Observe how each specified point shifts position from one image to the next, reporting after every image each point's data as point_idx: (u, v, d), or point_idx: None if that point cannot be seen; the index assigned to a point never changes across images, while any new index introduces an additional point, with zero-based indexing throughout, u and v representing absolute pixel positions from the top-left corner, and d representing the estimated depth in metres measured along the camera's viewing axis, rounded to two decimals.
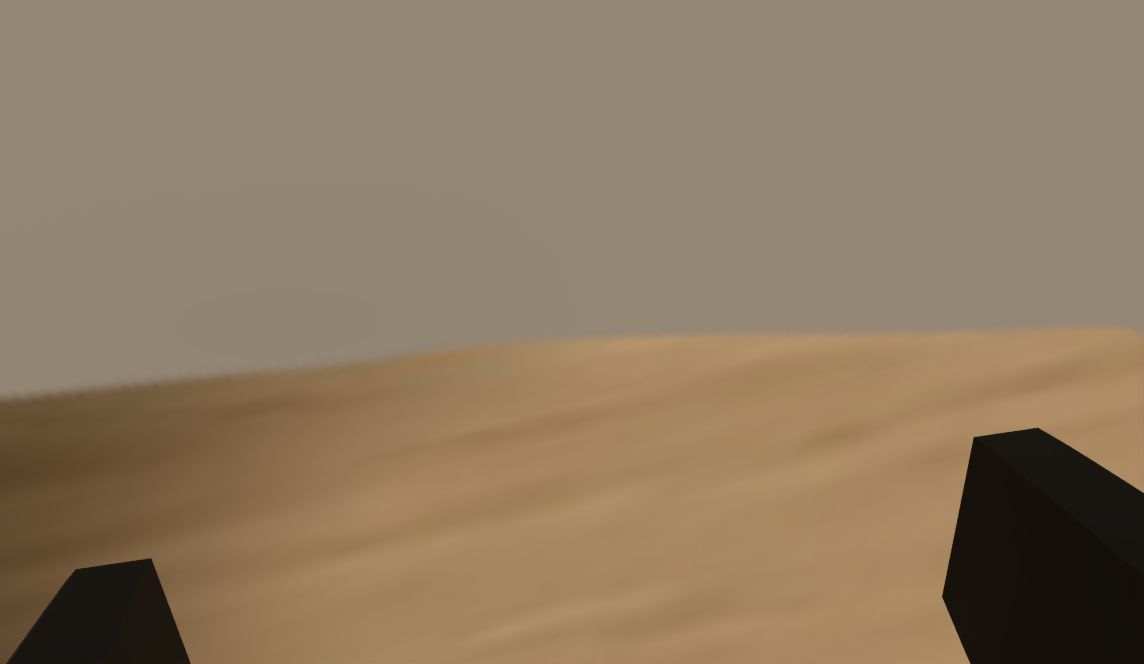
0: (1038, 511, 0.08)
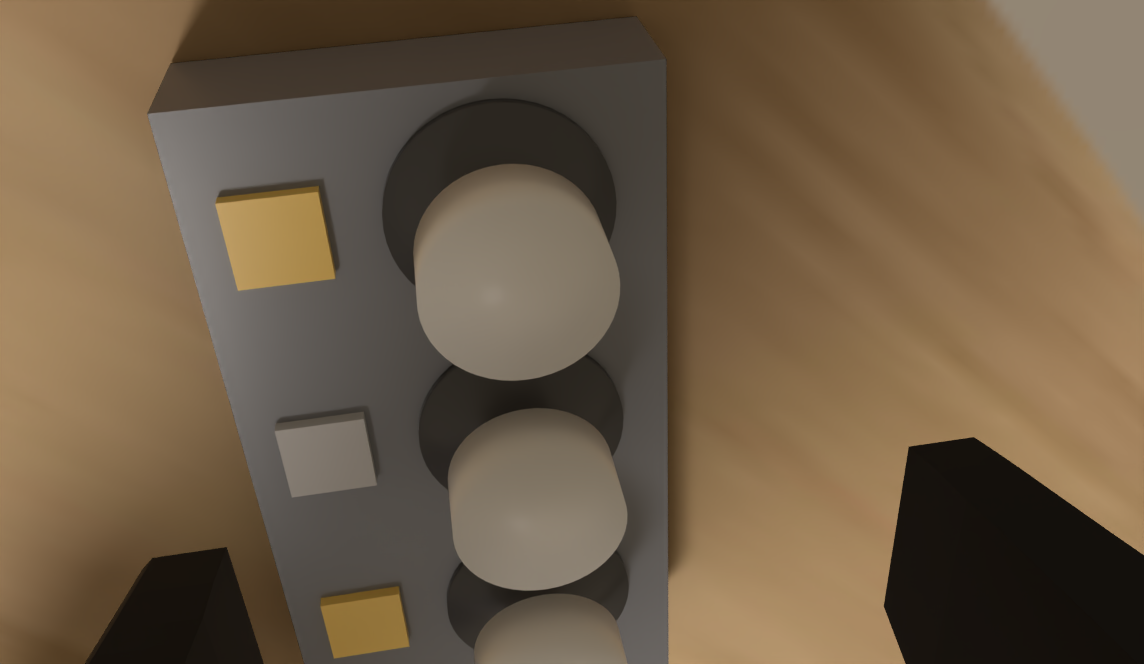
0: (966, 522, 0.08)
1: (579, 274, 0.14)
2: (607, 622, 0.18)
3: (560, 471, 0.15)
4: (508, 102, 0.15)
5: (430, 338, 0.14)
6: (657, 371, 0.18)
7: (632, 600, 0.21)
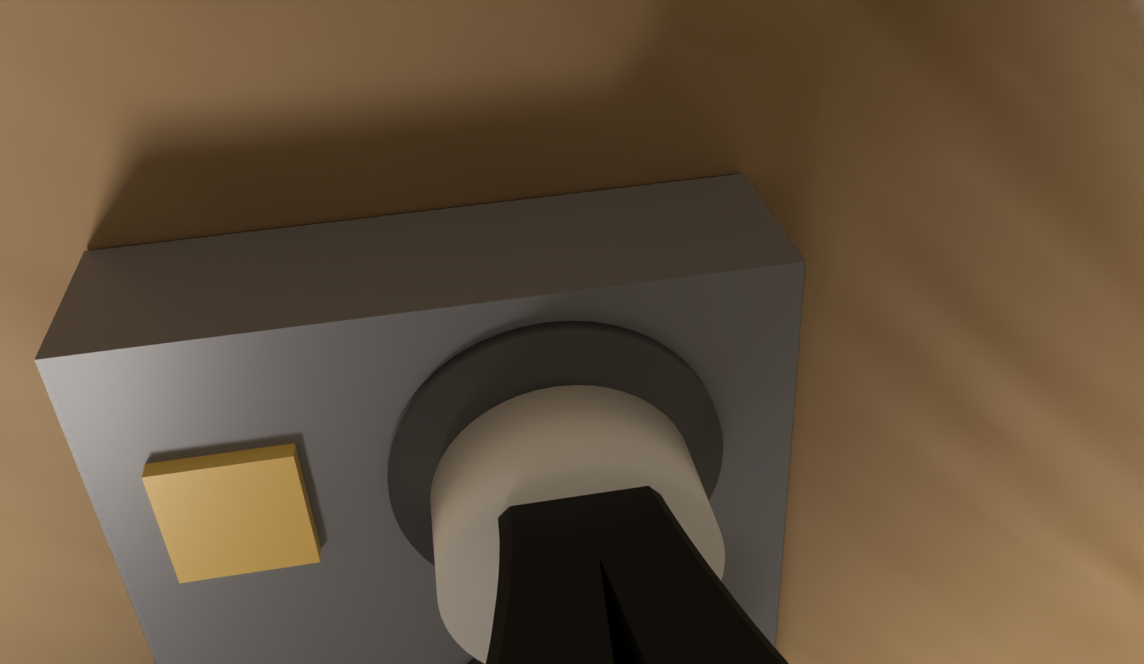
0: (602, 579, 0.08)
1: None
2: None
3: None
4: (574, 330, 0.10)
5: (455, 636, 0.10)
6: None
7: None
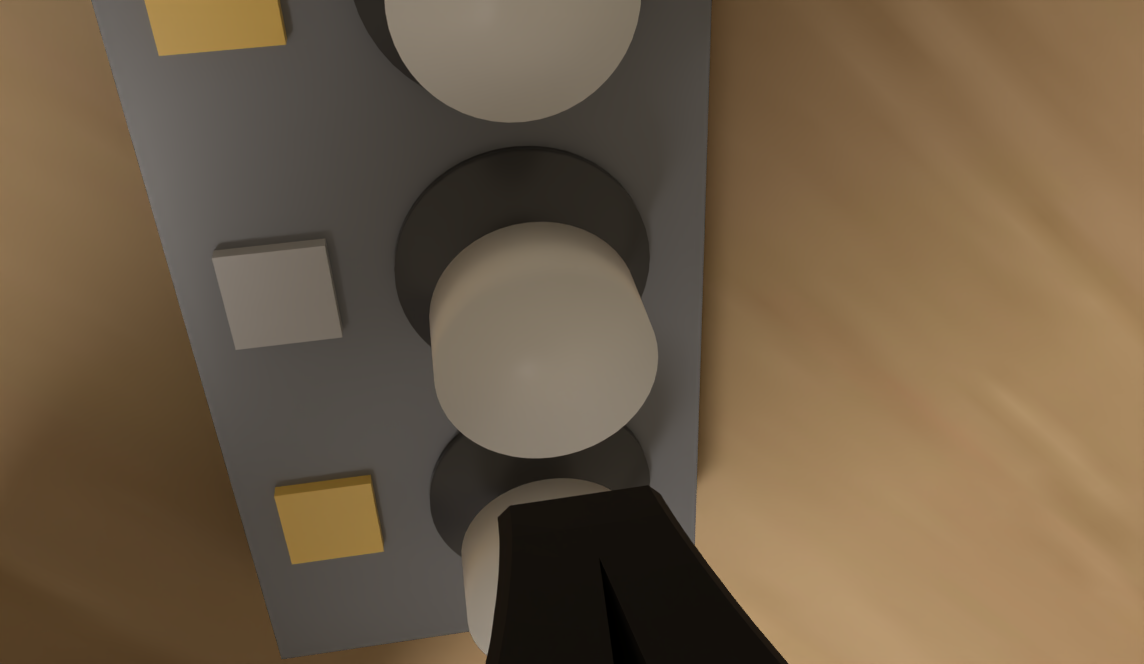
0: (602, 579, 0.08)
1: None
2: None
3: (574, 291, 0.12)
4: None
5: (402, 56, 0.11)
6: (693, 198, 0.14)
7: None
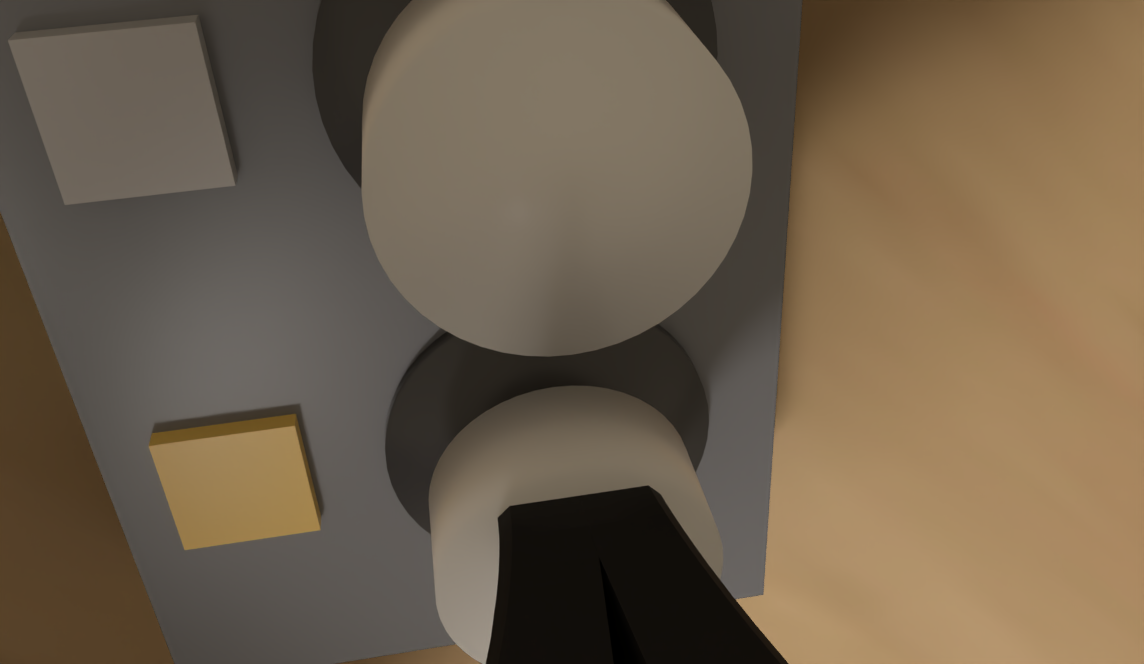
0: (602, 579, 0.08)
1: None
2: (673, 439, 0.10)
3: (608, 36, 0.07)
4: None
5: None
6: None
7: (710, 454, 0.12)
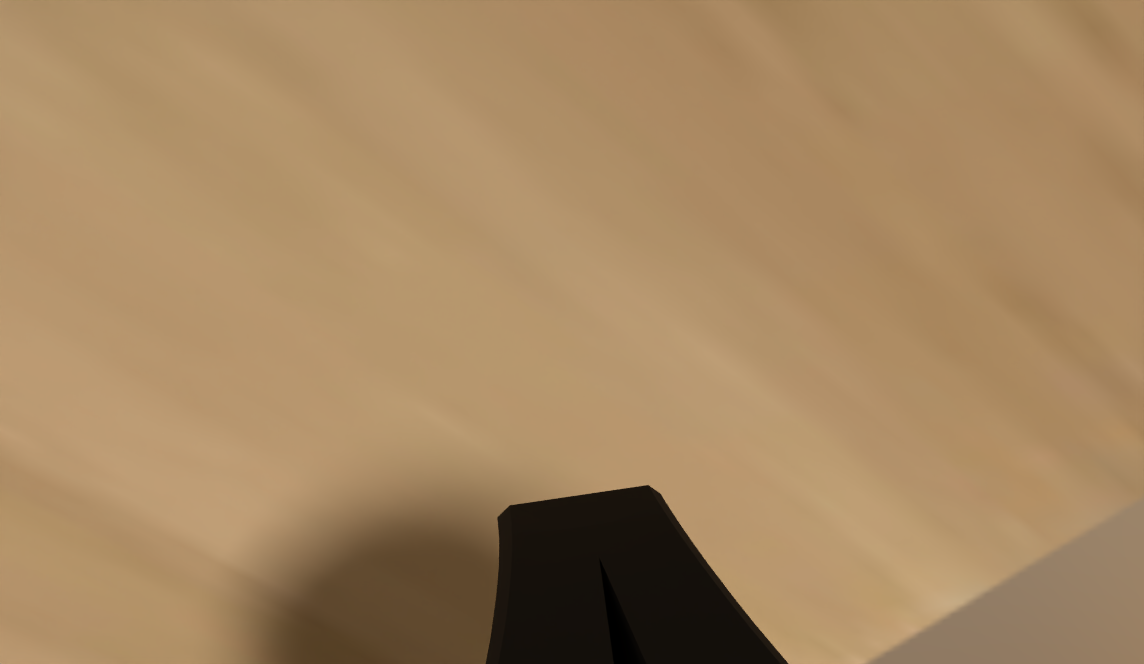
0: (602, 579, 0.08)
1: None
2: None
3: None
4: None
5: None
6: None
7: None
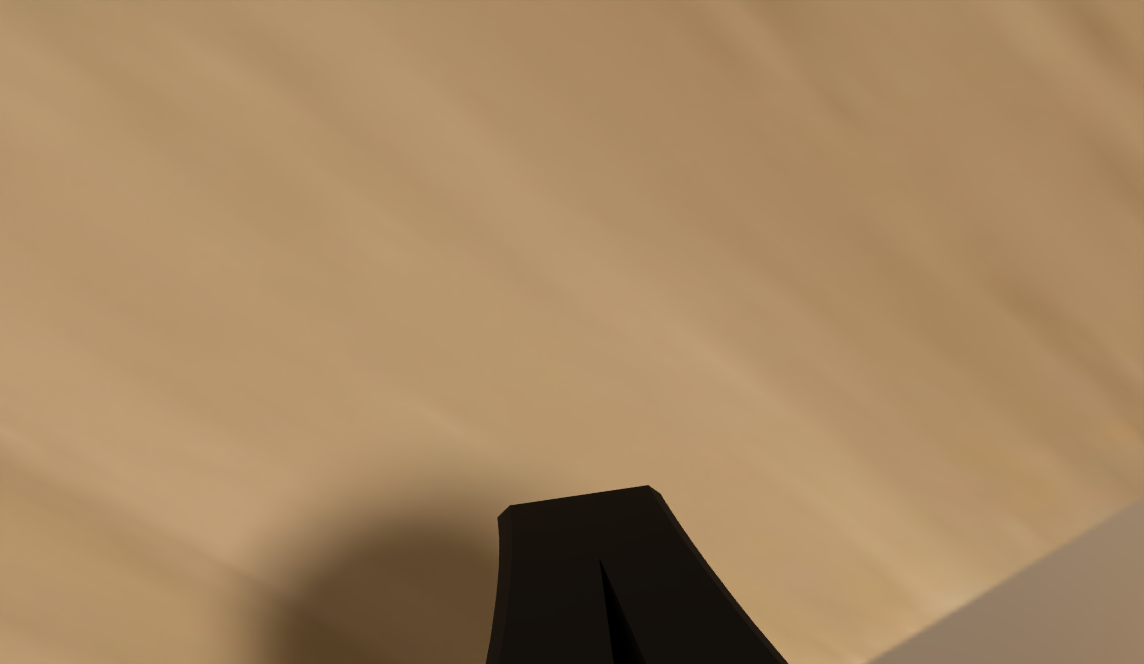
0: (602, 579, 0.08)
1: None
2: None
3: None
4: None
5: None
6: None
7: None
